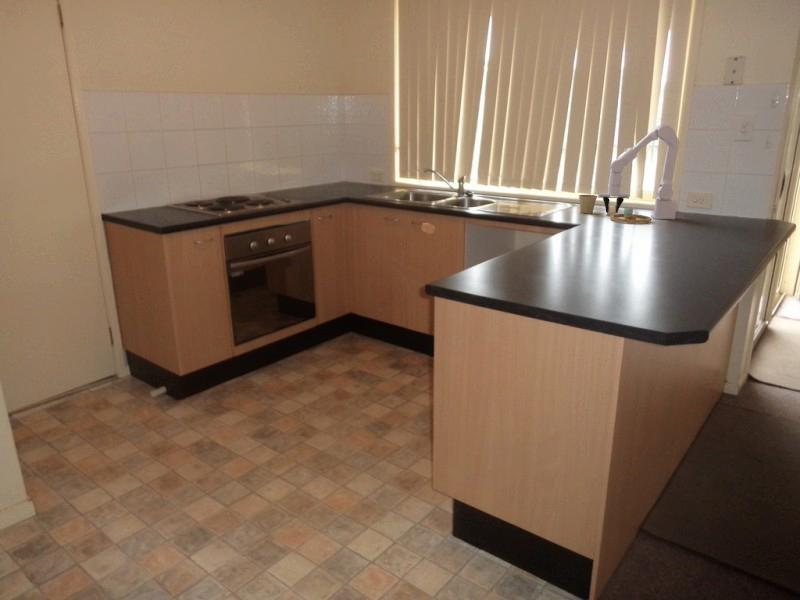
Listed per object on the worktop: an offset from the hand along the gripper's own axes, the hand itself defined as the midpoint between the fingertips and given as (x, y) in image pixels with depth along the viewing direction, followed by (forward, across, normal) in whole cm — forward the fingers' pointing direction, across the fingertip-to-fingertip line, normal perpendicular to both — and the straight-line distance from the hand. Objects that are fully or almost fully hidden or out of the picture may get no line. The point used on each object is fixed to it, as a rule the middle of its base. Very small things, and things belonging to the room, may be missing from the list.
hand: (611, 212), depth 299 cm
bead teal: (+1, -6, +9) cm, 11 cm away
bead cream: (+1, 0, 0) cm, 1 cm away
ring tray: (+1, -6, +14) cm, 15 cm away
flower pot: (+2, +11, -7) cm, 13 cm away
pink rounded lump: (0, +85, +64) cm, 106 cm away
